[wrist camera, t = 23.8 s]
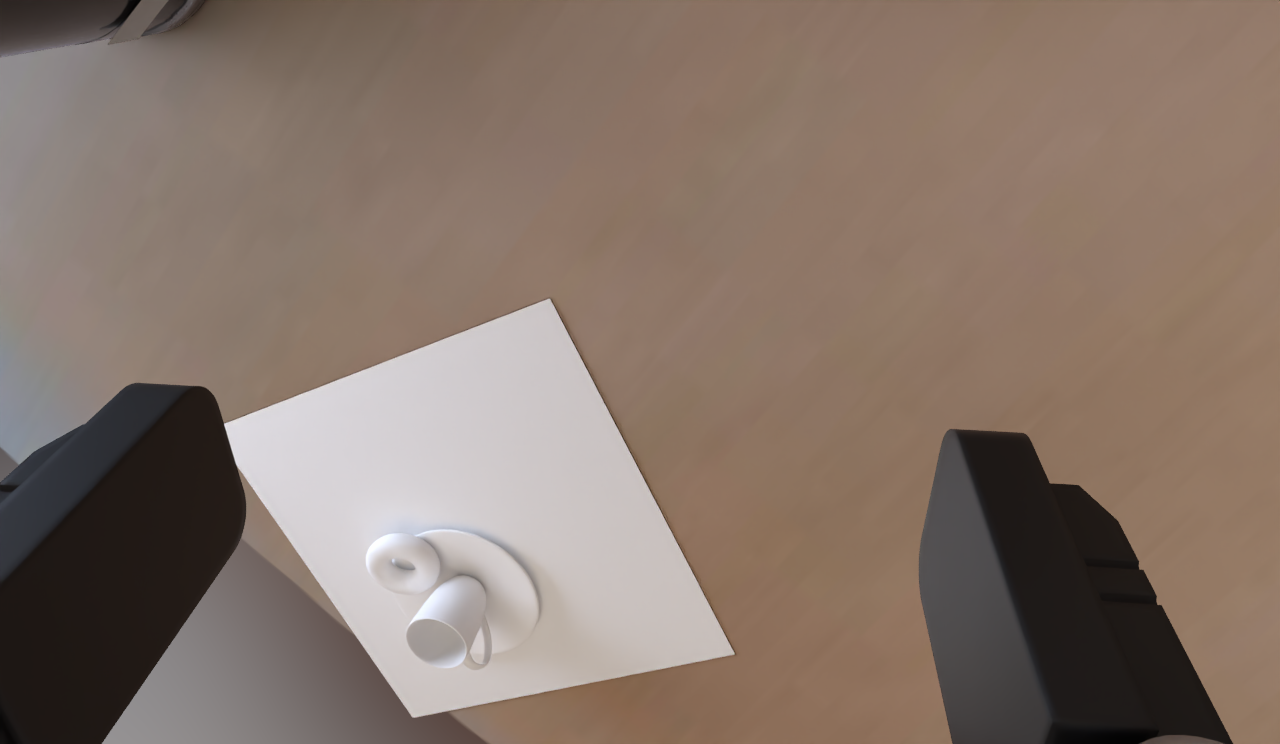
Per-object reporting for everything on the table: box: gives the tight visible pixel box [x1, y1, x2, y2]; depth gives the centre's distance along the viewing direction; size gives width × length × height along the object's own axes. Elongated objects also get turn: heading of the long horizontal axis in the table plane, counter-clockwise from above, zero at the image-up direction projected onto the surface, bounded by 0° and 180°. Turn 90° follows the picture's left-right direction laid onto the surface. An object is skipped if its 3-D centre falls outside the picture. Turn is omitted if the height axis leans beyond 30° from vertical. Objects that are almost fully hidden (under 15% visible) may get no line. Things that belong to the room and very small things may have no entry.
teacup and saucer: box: [365, 529, 540, 671], centre depth 45 cm, size 9×8×4 cm
